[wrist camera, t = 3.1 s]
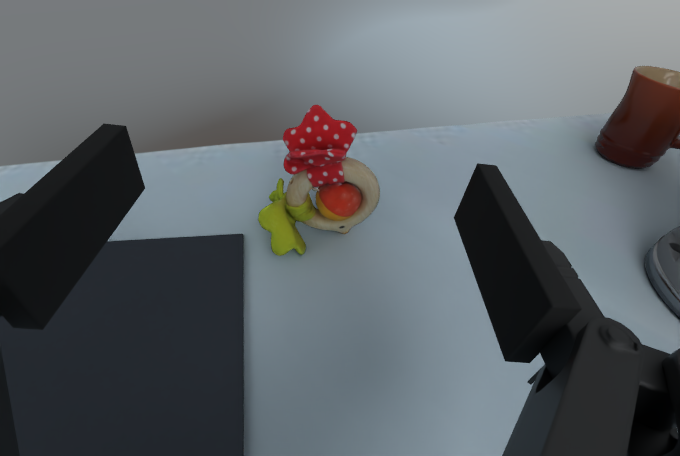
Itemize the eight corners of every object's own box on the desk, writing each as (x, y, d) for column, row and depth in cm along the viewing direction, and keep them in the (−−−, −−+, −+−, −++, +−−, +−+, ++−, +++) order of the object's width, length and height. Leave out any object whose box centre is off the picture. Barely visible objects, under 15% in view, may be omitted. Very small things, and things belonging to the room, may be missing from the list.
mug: (580, 156, 46) (632, 75, 39) (589, 134, 52) (636, 60, 45) (688, 195, 42) (767, 112, 35) (685, 167, 47) (754, 90, 40)
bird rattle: (332, 223, 34) (241, 198, 30) (398, 127, 29) (296, 78, 24) (346, 273, 30) (242, 252, 26) (427, 171, 24) (310, 121, 20)
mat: (243, 237, 29) (243, 233, 29) (243, 460, 17) (242, 458, 17) (-54, 254, 25) (-58, 250, 24) (-311, 566, 13) (-323, 565, 13)
